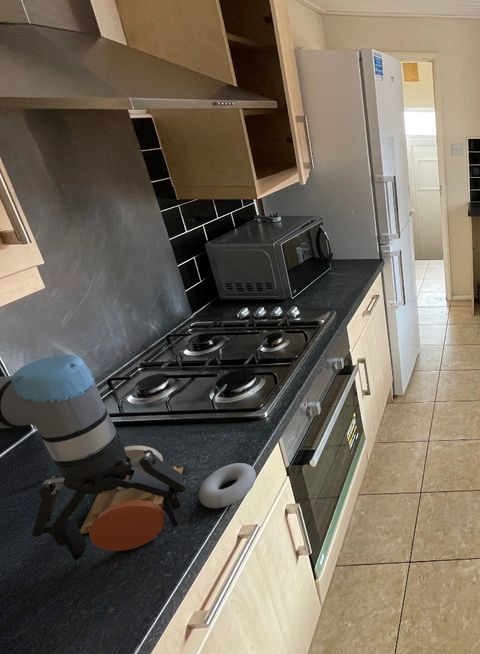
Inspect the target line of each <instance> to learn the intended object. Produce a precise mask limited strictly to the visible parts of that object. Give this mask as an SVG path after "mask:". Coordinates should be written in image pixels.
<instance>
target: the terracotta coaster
mask: <svg viewBox="0 0 480 654" xmlns="http://www.w3.org/2000/svg"><path fill="white" fill-rule="evenodd" d="M165 521H166V513H165V511H164V508H163V509H162V508H161V507H160V506H159V505H157V504H155V503H153V502H149V501H143V500H133V501H126V502H122V503H119V504H116V505H113V506H111V507H109V508H107V509H106V510H104V511H103V512H102V513H100V514H99V515H98V516H97V517H96V519H95V520H94V522H93V524H92V526H91V528H90V532H88V535H89V540H90V541H91V543H92V544H93V545H94V546H96V548H99V549H102V550H104V551H105V550H106V551H112V552H121V551H123V552H124V551H129V550H133V549H137V548H139V547H141V546H144V545H146V544H148V543H150V542H151V541H152V540H154V539H155V538H156V537H157V536H158V535H160V533H161V531H162V530H163V527H164V524H165Z"/></svg>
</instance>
